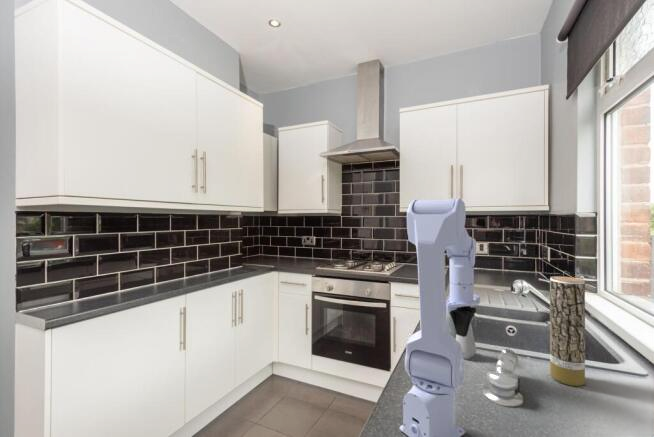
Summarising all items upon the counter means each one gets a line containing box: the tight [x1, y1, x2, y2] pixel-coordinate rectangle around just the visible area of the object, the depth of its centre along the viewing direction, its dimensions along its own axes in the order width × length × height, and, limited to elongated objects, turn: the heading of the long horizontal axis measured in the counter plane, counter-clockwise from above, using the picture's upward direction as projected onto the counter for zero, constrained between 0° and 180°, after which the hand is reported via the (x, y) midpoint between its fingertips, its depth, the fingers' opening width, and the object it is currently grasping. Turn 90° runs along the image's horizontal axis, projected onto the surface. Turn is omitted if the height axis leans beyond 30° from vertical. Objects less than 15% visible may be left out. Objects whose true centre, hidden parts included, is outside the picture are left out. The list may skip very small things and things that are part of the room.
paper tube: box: [549, 275, 586, 387], centre depth 76 cm, size 7×7×25 cm
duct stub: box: [481, 376, 524, 408], centre depth 70 cm, size 9×8×4 cm
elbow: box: [486, 348, 519, 391], centre depth 73 cm, size 15×6×4 cm, turn 143°
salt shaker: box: [455, 316, 477, 360], centre depth 90 cm, size 6×6×13 cm
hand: (461, 335), depth 80 cm, fingers closed
